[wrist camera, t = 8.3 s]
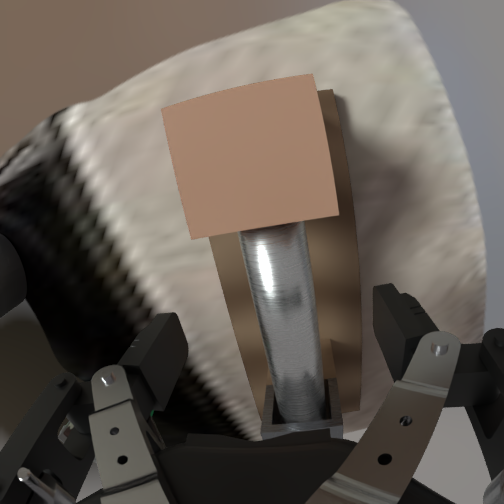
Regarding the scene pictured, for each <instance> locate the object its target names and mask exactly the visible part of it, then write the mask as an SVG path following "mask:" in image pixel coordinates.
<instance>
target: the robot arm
mask: <svg viewBox="0 0 504 504" xmlns="http://www.w3.org/2000/svg"><path fill="white" fill-rule="evenodd" d="M26 294H27V281H26V275H25V271H24V268H23V265H22V262H21V260H20V257H19V255H18V253H17V251H16V250H15V248H14V247H13V245H12V244H11V242H10V241H9V240H8V239H7V238H6V237H5V236H3V235H2V234H0V318H2V317H3V316H4V315H5V314H7V313H8V312H9V311H11V310H12V309H13V308H15V307H16V306H17V305H19V304H20V303H21V302H23V300H24V299H25V297H26ZM373 327H374V332H375V336H376V338H377V340H378V343H379V345H380V348H381V350H382V352H383V355H384V357H385V360H386V362H387V365H388V367H389V370H390V373H391V375H392V378H393V380H394V385H393V386H392V388H391V390H390V392H389V394H388V395H387V397H386V399H385V401H384V402H383V404H382V406H381V407H380V409H379V411H378V412H377V414H376V416H375V417H374V419H373V421H372V422H371V424H370V425H369V427H368V428H367V430H366V431H365V433H364V434H363V436H362V437H361V439H360V441H359V442H358V443H356V442H354V441H350V440H346V439H340V438H331V434H330V428H326V429H318V430H310V431H300V432H292V433H289V434H285V435H281V436H277V437H274V438H270V439H266V440H261V441H256V442H253V441H247V440H242V439H237V438H233V437H228V436H224V435H211V434H190V433H188V436H187V439H186V442H185V443H182V444H178V445H174V446H171V447H168V448H166V446H165V444H164V442H163V440H162V438H161V436H160V434H159V431H158V429H157V427H156V425H155V422H154V420H153V418H152V417H151V415H150V414H151V412H152V410H155V411H164V410H165V407H166V405H167V403H168V400H169V398H170V396H171V394H172V391H173V389H174V387H175V384H176V382H177V380H178V377H179V375H180V373H181V370H182V368H183V366H184V364H185V361H186V359H187V357H188V351H189V350H188V343H187V340H186V337H185V335H184V332H183V329H182V326H181V324H180V321H179V318H178V316H177V314H176V313H174V312H172V313H160V314H157V315H156V316H155V318H154V319H153V321H152V322H151V324H150V325H148V326H147V327H146V328H144V329H143V330H142V331H141V332H139V334H138V335H137V337H136V338H135V339H134V340H135V341H133V342H132V344H131V345H130V347H129V348H128V349H127V351H126V352H125V354H124V355H123V356H122V358H121V359H120V361H119V362H118V364H117V365H110V366H106V367H104V368H102V369H100V370H99V371H97V372H96V373H95V374H94V376H93V377H92V380H91V381H88V382H82V383H79V382H78V381H77V379H76V377H75V376H74V375H73V374H72V373H63V374H60V375H58V376H56V377H55V378H53V379H52V380H51V381H50V382H49V384H48V385H47V386H46V388H45V389H44V390H43V392H42V393H41V395H40V396H39V397H38V398H37V400H36V401H35V402H34V404H33V405H32V407H31V408H30V409H29V411H28V412H27V414H26V415H25V416H24V418H23V419H22V421H21V422H20V423H19V425H18V426H17V428H16V429H15V431H14V432H13V434H12V435H11V437H10V438H9V440H8V441H7V443H6V444H5V446H4V447H3V449H2V450H1V452H0V504H455V503H453V502H452V501H450V500H448V499H446V498H445V497H443V496H441V495H440V494H438V493H436V492H435V491H433V490H431V489H430V488H428V487H427V486H425V485H423V484H422V483H420V482H418V481H417V480H416V479H414V478H412V477H413V475H414V473H415V471H416V469H417V467H418V465H419V463H420V461H421V459H422V457H423V455H424V452H425V450H426V448H427V446H428V444H429V441H430V439H431V436H432V434H433V432H434V429H435V427H436V424H437V422H438V419H439V417H440V414H441V411H442V409H443V408H444V407H462V406H464V407H465V409H466V411H467V414H468V416H469V418H470V421H471V423H472V426H473V429H474V431H475V434H476V436H477V439H478V442H479V444H480V447H481V450H482V453H483V456H484V459H485V461H486V465H487V468H488V471H489V474H490V477H491V481H492V482H491V483H490V484H489V485H488V487H487V488H486V490H485V493H484V496H483V504H504V329H502V328H495V329H491V330H489V331H487V332H486V333H485V334H484V336H483V340H482V343H476V344H460V341H459V340H458V338H457V337H456V336H454V335H453V334H451V333H448V332H443V331H439V329H438V328H437V327H436V325H435V324H434V323H433V321H432V320H431V318H430V317H429V316H428V314H427V313H425V310H424V309H423V308H422V307H421V305H420V304H419V302H418V301H417V300H416V298H414V297H412V296H411V295H409V294H407V293H403V294H400V293H399V292H398V290H397V289H396V288H395V286H394V285H393V284H392V283H389V284H384V285H378V286H374V287H373ZM65 417H67V418H68V419H69V421H70V422H71V423H72V424H73V426H74V427H73V428H72V430H71V432H70V434H69V435H68V437H67V439H66V441H65V442H64V444H62V443H61V442H60V441H59V439H58V435H57V432H58V429H59V427H60V425H61V424H62V422H63V420H64V419H65ZM95 457H96V461H97V466H98V470H99V474H100V479H101V482H102V486H103V488H102V489H100V490H98V491H97V492H95V493H93V494H91V495H90V496H88V497H86V498H84V499H83V500H81V501H79V502H77V503H76V499H77V496H78V494H79V492H80V489H81V487H82V485H83V482H84V480H85V478H86V475H87V474H88V471H89V469H90V467H91V465H92V462H93V460H94V458H95Z"/></svg>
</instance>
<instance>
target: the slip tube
mask: <svg viewBox="0 0 504 504" xmlns="http://www.w3.org/2000/svg"><path fill="white" fill-rule="evenodd" d="M238 237H239V241H240V246H241V250H242V254H243V259H244V263H245V268H246V272H247V276H248V281H249V285H250V289H251V294H252V298H253V302H254V307H255V311H256V315H257V320H258V324H259V328H260V332H261V337H262V341H263V345H264V349H265V354H266V358H267V362H268V366H269V370H270V375H271V379H272V383H273V387H274V391H275V396H276V400H277V404H278V408H279V412H280V416H281V420H282V424H291V423H303V422H312V421H321V420H326V404H325V390H324V377H323V365H322V354H321V344H320V334H319V325H318V316H317V308H316V299H315V291H314V283H313V276H312V269H311V261H310V254H309V248H308V241H307V234H306V228H305V222H304V221H298V222H292V223H286V224H279V225H273V226H267V227H261V228H255V229H249V230H243V231H238Z"/></svg>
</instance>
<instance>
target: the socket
mask: <svg viewBox="0 0 504 504" xmlns="http://www.w3.org/2000/svg"><path fill="white" fill-rule="evenodd" d="M161 111H162V116H163V121H164V126H165V131H166V136H167V140H168V145H169V150H170V154H171V159H172V163H173V167H174V172H175V176H176V180H177V184H178V189H179V193H180V197H181V201H182V205H183V209H184V213H185V217H186V221H187V225H188V228H189V232H190V236H191V240H192V239H198V238H203V237H209V236H215V235H220V234H226V233H232V232H238V231H243V230H249V229H255V228H261V227H267V226H273V225H279V224H286V223H292V222H298V221H304V220H311V219H317V218H324V217H330V216H337V215H339V210H338V202H337V195H336V188H335V182H334V176H333V169H332V163H331V158H330V152H329V147H328V141H327V136H326V131H325V126H324V121H323V116H322V112H321V107H320V102H319V98H318V94H317V89H316V85H315V81H314V77H313V74H306V75H299V76H292V77H286V78H280V79H274V80H269V81H263V82H258V83H253V84H249V85H244V86H240V87H235V88H231V89H227V90H223V91H219V92H215V93H211V94H208V95H204V96H200V97H197V98H194V99H190V100H187V101H184V102H180V103H177V104H174V105H171V106H168V107H165V108H162V109H161Z"/></svg>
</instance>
